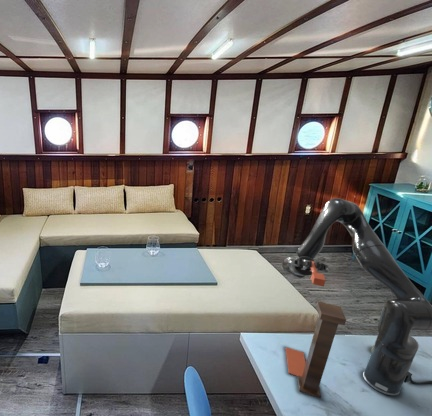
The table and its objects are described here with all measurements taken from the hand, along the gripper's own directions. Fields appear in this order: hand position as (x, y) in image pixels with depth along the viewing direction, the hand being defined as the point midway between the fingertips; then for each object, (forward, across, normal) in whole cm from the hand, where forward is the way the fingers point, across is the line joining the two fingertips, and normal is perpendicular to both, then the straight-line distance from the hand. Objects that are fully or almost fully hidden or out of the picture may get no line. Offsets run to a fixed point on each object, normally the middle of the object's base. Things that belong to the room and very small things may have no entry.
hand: (314, 264), depth 100 cm
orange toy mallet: (+1, 0, +3) cm, 4 cm away
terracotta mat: (-13, 0, +36) cm, 38 cm away
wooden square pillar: (-4, +3, +41) cm, 41 cm away
